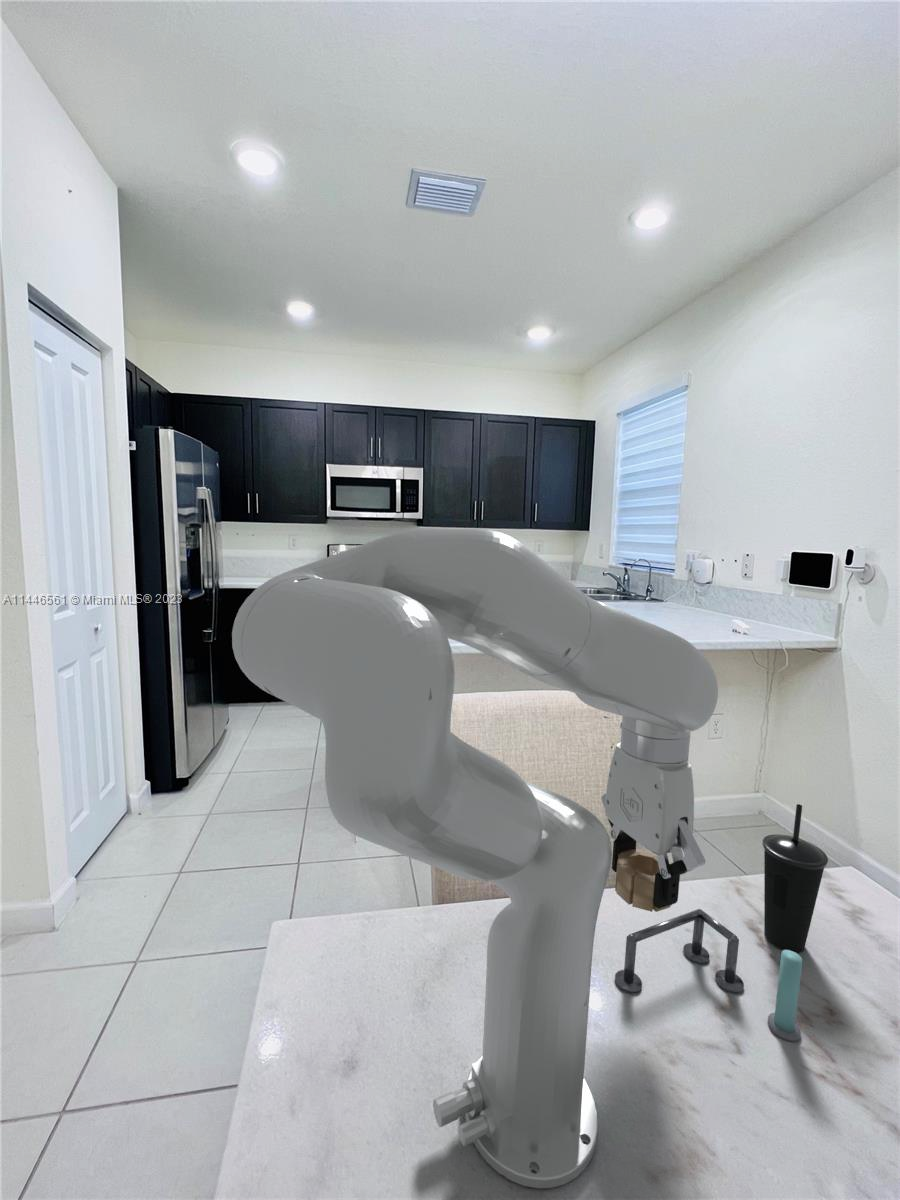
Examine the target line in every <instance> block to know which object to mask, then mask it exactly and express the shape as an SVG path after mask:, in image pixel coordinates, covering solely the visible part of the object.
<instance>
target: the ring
mask: <svg viewBox="0 0 900 1200" xmlns="http://www.w3.org/2000/svg"><path fill="white" fill-rule="evenodd" d="M671 863H672V862H670V861H669V864H671ZM659 872H660V870H659V865H658V860H657V855H656V854H655V853H653V852H651V851H648V850H643V849H639V848H636V850H635V849H633V850H629V851H625V852H621V854H619V855H618V861H617V872H615V873H616V874H615V876H616V877H615V887H614V889H615V890H614V891H615V893H616V894H617V896H619V897H620V898H621V900H623V901H624V902H625V903H627V904H628V905H631V907H632V908H637V909H639V910H640V909H641V910H645V911H648V912H651V913H653V911H654V912H656V913H657V912H661V911H663V910H666V909H669V908H671V906H672V905H673V904H672V905H669V906H665V907H662V908H659V909H658V908H657V907H655V906H654V904H653V896H654V883H655V875H656V873H659Z"/></svg>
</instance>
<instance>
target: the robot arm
mask: <svg viewBox="0 0 900 1200" xmlns="http://www.w3.org/2000/svg"><path fill="white" fill-rule="evenodd" d="M234 618H235V619H234V622H233V626H232V631H231V637H232V638H231V639H232V640H231V642H232V643H231V644H232V645H231V646H232V647H231V648H232V650H233V654H234V658H235V660H236V662H237V664H238V666H239V668H240V670H241V671H242V673H244V675H245V676H246V677H247V678H248V680H250V682H252V683H253V684H254V685H255V686H257V687H258V688H259V689H261V690H262V691H264V692H266V693H267V694H270V695H271V696H274V697H275V698H277V699H279V700H282V701H284V702H285V703H288V704H290V705H292V706H293V707H296V708H298V709H299V710H302V711H304V712H305V713H307V714H309V715H311V716H313V717H315V718H316V719H319V720H321V723H322V726H323V729H324V736H325V737H324V738H325V756H324V757H325V760H324V761H325V762H324V763H325V764H324V782H325V789H326V790H325V791H326V796H327V801H328V804H329V808H330V810H331V812H332V815H333V817H334V819H335V820H336V822H337V823H338V824H339V825H340V826H342V828H344V829H345V830H346V831H347V832H348V833H350V834H352V835H354V836H355V837H356V836H357V837H358V838H361V839H363V840H365V841H368V842H370V843H372V844H375V845H376V846H377V845H378V846H380V847H383V848H386V849H389V850H391V851H392V852H393V851H394V852H396V853H398V854H401V855H402V856H404V857H406V858H410V859H413V860H416V861H417V862H418V861H419V862H420V863H424V864H427V865H429V866H432V867H435V868H438V869H440V870H442V871H444V872H446V873H448V874H451V875H452V876H455V877H458V878H463V879H465V880H470V881H480V882H491V883H492V884H494V885H495V886H497V887H498V888H500V889H501V890H503V892H505V893H506V894H507V896H508V897H509V899H510V903H508V904H507V905H506V906H505V907H504V908H503V909H501V911H499V912H498V914H497V915H496V916H495V918H494V919H493V921H492V923H491V926H490V928H489V931H488V932H489V933H488V937H487V946H486V975H485V976H486V977H485V997H484V999H485V1000H484V1019H483V1034H482V1035H483V1038H482V1039H483V1040H482V1055H481V1056H480V1057H479V1058H478V1059H477V1060H476V1061H475V1062H472V1064H471V1069H470V1070H469V1074H468V1077H467V1079H466V1080H465V1081H464V1082H463V1083H462V1088H460V1089H458V1090H456V1091H453V1092H452V1091H450V1092H447V1093H446V1094H443V1095H441V1096H439V1097H437V1098H435V1099H433V1102H432V1107H433V1114H434V1118H435V1122H436V1123H437V1125H438V1127H439V1128H443V1127H444V1126H446V1125H448V1124H450V1123H453V1122H454V1121H456V1120H459V1119H460V1117H463V1116H464V1118H465V1122H463V1123H460V1124H459V1125H458V1126H457V1131H458V1132H457V1133H458V1138H459V1141H460V1143H461V1144H462V1146H463V1147H466V1146H467V1145H470V1144H472V1143H473V1144H474V1146H475V1148H476V1150H477V1151H478V1152H479V1154H480V1156H482V1158H483V1159H484V1161H485V1162H486V1163H487V1164H489V1166H491V1168H492V1169H493V1170H495V1171H496V1172H497V1173H498V1174H500V1175H501V1176H503V1177H504V1178H506V1179H508V1180H510V1181H512V1182H514V1183H516V1184H518V1185H521V1186H524V1187H529V1188H533V1189H553V1188H557V1187H559V1186H560V1187H561V1186H563V1185H566V1184H568V1183H570V1182H572V1181H573V1180H574V1179H576V1178H577V1177H578V1176H580V1174H581V1173H583V1171H585V1169H586V1168H587V1166H588V1165H589V1163H590V1161H591V1160H592V1158H593V1156H594V1153H595V1150H596V1146H597V1140H598V1131H599V1114H598V1109H597V1103H596V1101H595V1098H594V1095H593V1092H592V1090H591V1089H590V1087H589V1085H588V1083H587V1081H586V1079H585V1068H586V1067H585V1063H586V1050H587V1049H586V1048H587V1039H588V1038H587V1037H588V1036H587V1035H588V1022H589V1009H590V1007H589V1005H590V996H591V995H590V993H591V992H590V991H591V978H592V968H593V967H592V966H593V965H592V964H593V951H594V941H595V935H596V934H595V933H596V926H597V921H598V915H599V910H600V907H601V902H602V898H603V897H604V896H603V894H604V891H605V889H606V888H605V887H606V884H607V881H608V877H609V874H610V873H609V872H610V869H612V871H613V872H615V873H616V872H617V861H618V855H619V854H621V852H625V851H629V850H633V849H635V850H636V851H637V843H638V844H640V845H641V846H643V847H644V848H645V849H646V850H647V851H648V850H649V852H653V853H655V854H656V855H657V860H658V865H659V870H660V872H659V873H656V875H655V883H654V896H653V904H654V906H655V907H657V908H658V909H659V908H662V907H665V906H669V905H675V904H676V903H678V900H679V891H680V889H679V888H680V879H681V878H680V877H681V875H685V874H686V873H688V872H691V871H693V870H695V869H697V868H699V867H702V866H703V865H705V864H706V858H705V856H704V854H703V852H702V851H701V848H700V846H699V845H698V843H697V841H696V839H695V836H694V835H693V832H694V821H695V797H694V796H695V793H694V779H693V770H692V765H691V763H689V756H690V755H689V754H690V745H691V744H690V741H691V732H694V731H697V730H699V729H701V728H702V727H704V726H705V725H706V724H707V723H708V722H709V720H710V719H711V718H712V716H713V714H714V712H715V709H716V706H717V704H718V697H719V695H718V694H719V687H718V680H717V677H716V673H715V670H714V669H713V666H712V664H711V663H710V662H709V660H708V659H707V657H706V656H705V655H704V654H703V653H702V652H701V651H700V650H699V649H698V648H696V646H695V645H693V644H692V643H691V642H690V641H688V640H686V639H685V638H683V637H682V636H679V635H677V634H675V633H674V632H672V631H669V630H668V629H665V628H663V627H660V626H659V625H655V624H653V623H651V622H648V621H646V620H643V619H642V618H641V619H640V618H638V617H636V616H634V615H631V614H629V613H627V612H626V611H623V610H621V609H618V608H617V607H614V606H612V605H609V604H606V603H604V602H600V601H599V600H595V598H594V599H593V598H592V597H590V596H588V595H587V594H586V593H585V592H584V591H582V590H581V589H580V588H578V587H577V586H576V585H575V584H573V583H572V582H571V581H570V580H568V579H567V578H566V577H565V576H563V575H562V573H561V574H560V573H559V572H558V571H557V570H556V569H555V568H554V567H552V566H551V565H550V564H549V563H548V562H547V561H545V560H543V559H542V558H541V557H540V556H538V555H537V554H536V553H534V551H532V550H531V549H530V548H529V547H527V546H526V545H525V544H523V543H522V542H520V541H519V540H517V539H515V538H514V537H512V536H511V535H508V534H505V533H504V532H503V533H502V532H500V531H496V530H491V529H483V528H438V527H437V528H428V527H427V528H420V527H419V528H418V527H417V528H410V529H406V530H401V531H398V532H395V533H392V534H391V533H390V534H389V535H385V536H382V537H380V538H376V539H374V540H371V541H368V542H366V543H362V544H359V545H357V546H355V547H353V548H349V549H347V550H343V551H340V552H339V553H335V554H333V555H330V556H327V557H324V558H321V559H319V560H316V561H314V562H310V563H308V564H307V563H306V564H304V565H302V566H299V567H295V568H293V569H291V570H288V571H286V572H283V573H281V574H277V575H276V576H273V577H272V578H270V579H268V580H267V581H265V582H264V583H263V584H261V585H260V586H258V587H256V588H255V589H254V590H253V591H252V593H251V594H250V595H249V596H247V597H246V598H245V600H244V602H242V604H241V606H240V607H239V609H238V612H237V613H236V617H234ZM449 640H452V641H456V642H459V643H461V644H464V645H466V646H469V647H471V648H473V649H475V650H478V651H479V652H481V653H483V654H485V655H486V656H489V657H491V658H493V659H495V660H499V662H503V663H505V664H507V665H508V666H511V667H512V668H515V669H517V670H518V671H520V672H522V673H523V674H526V675H527V676H530V677H532V679H535V680H537V681H540V682H542V683H544V684H547V685H549V686H552V687H555V688H559V689H561V690H564V691H566V692H571V693H572V694H575V695H576V697H577V698H578V699H579V700H580V701H581V702H582V703H584V704H586V705H587V706H589V707H591V708H594V709H595V710H600V711H603V712H607V713H610V714H614V715H616V716H622V718H621V719H622V720H621V722H620V725H619V726H620V729H621V730H620V731H621V732H620V742H619V743H617V744H616V746H615V748H614V751H613V754H612V758H611V762H610V767H609V772H608V776H607V784H606V791H605V793H604V794H602V795H601V799H600V800H601V803H602V805H603V807H604V812H605V816H606V818H607V821H608V822H609V825H610V831H609V832H610V836H609V833H608V831H607V828H605V825H604V824H603V823H602V822H601V820H600V819H599V818H598V817H596V815H595V814H593V813H592V812H591V811H590V810H588V809H587V808H585V807H584V806H583V805H581V804H579V803H578V802H576V801H573V800H572V799H570V798H568V797H566V796H563V795H561V794H560V793H559V794H558V793H556V792H554V791H552V790H550V789H547V788H544V787H542V786H540V785H537V784H535V783H533V782H530V781H529V782H528V781H526V780H525V779H523V778H522V777H521V776H520V775H519V774H518V773H517V772H516V771H515V770H513V769H512V768H511V767H510V766H508V765H507V764H506V763H505V762H504V761H501V760H500V759H498V758H496V757H494V756H493V755H492V754H489V753H488V752H486V751H483V750H481V749H479V748H477V747H474V746H472V745H470V743H467V742H465V741H463V740H462V739H460V737H458V736H456V735H455V734H454V733H453V732H452V731H451V720H452V719H451V718H452V709H453V699H454V692H455V691H454V690H455V662H454V656H453V652H452V651H453V650H452V647H451V644H450V642H449ZM610 837H611V838H612V839H613V843H612V842H611V839H610ZM669 853H671V858H672V862H670V860H669V857H668V854H669ZM669 862H670V863H671V864H669Z"/></svg>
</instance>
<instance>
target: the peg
mask: <svg viewBox="0 0 900 1200" xmlns="http://www.w3.org/2000/svg"><path fill="white" fill-rule="evenodd" d="M802 967H803V958H802V956H800V954H799V953H795V952H793V951H790V950H781V955H780V965H779V972H778V981H777V989H776V991H777V992H776V1000H775V1008H774V1012H772V1013H769V1015H768V1016H767V1025H768V1028H769V1029H770V1031H771V1032H772V1033H773V1034H774V1035H776V1036H777V1037H778V1038H780V1039H782V1040H783V1041H786V1042H791V1043H794V1042H798V1041H800V1039H801V1033H802V1031H801V1028H800V1026H799V1025H798V1023H797V1022H796V1020H797V1011H798V1002H799V994H800V985H801V977H802V976H801V975H802V969H803V968H802Z"/></svg>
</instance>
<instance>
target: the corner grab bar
mask: <svg viewBox="0 0 900 1200" xmlns="http://www.w3.org/2000/svg"><path fill="white" fill-rule="evenodd" d="M691 922H693V929H692V931H693V932H692V942H688V943H686V944H684V946H683V949H682V951H683V952H682V953H683V955H684V957H685V958H687V959H688V960H689V961H691V962H693V963H695V964H699V965H706V964H707V963H709V962H710V953H709V951H708V950H707V949H706V948H705V947H704V946H703V941H704V940H703V939H704V938H703V937H704V929H705V928H704V927H705V924H707V925H708V926H709V927H711V928H712V929H713V930H715V931H716V932H717V933H718V934H720V935H721V936H722V937H724V938H725V939H727V948H726V956H725V964H724V965H725V966H724V969H719V970H717V971H716V972H715V974H714V979H715V982H716V983H717V985H718V986H719V987H720V988H721V989H723V990H725V991H726V992H729V993H732V994H740V993H742V992H743V991H744V989H745V988H744V987H745V983H744V981H743V979H742V978H741V977H740V976H739V975H738V974H737V963H738V957H739V955H738V954H739V946H740V945H739V944H740V939H739V937H738V936H737V935H736V934H735V933H733V932H732V931H730V930H729V929H728V928H726V926H724V925H722V924H721V923H720V922H719V921H717V920H716V919H715V918H714V917H712V916H710V914H708V913H706V912H705V911H704V910H702V909H701V908H698V909H693V910H692V911H689V912H686V913H684V914H681V915H678V916H676V917H673V918H671V919H668V920H665V921H663V922H660V923H656V924H654V925H651V926H648V927H646V928H643V929H640V930H637V931H634V932H632V933H629V934H628V935H627V936H626V941H625V952H624V954H625V955H624V956H625V957H624V964H623V965H624V967H623V969H621V970H618V971H617V972H616V973H615V975H614V982H615V985H616V986H617V988H618V989H620V991H621V990H622V991H623V992H625V993H626V994H631V995H634V994H638V993H640V992H641V991H642V989H643V981H642V980H641V978H640V976H638V974H637V973H636V972H635V969H636V968H635V966H636V955H637V943H638V942H641V941H644V940H646V939H648V938H651V937H654V936H657V935H659V934H662V933H664V932H668V931H670V930H673V929H675V928H678V927H681V926H683V925H686V924H689V923H691Z"/></svg>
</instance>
